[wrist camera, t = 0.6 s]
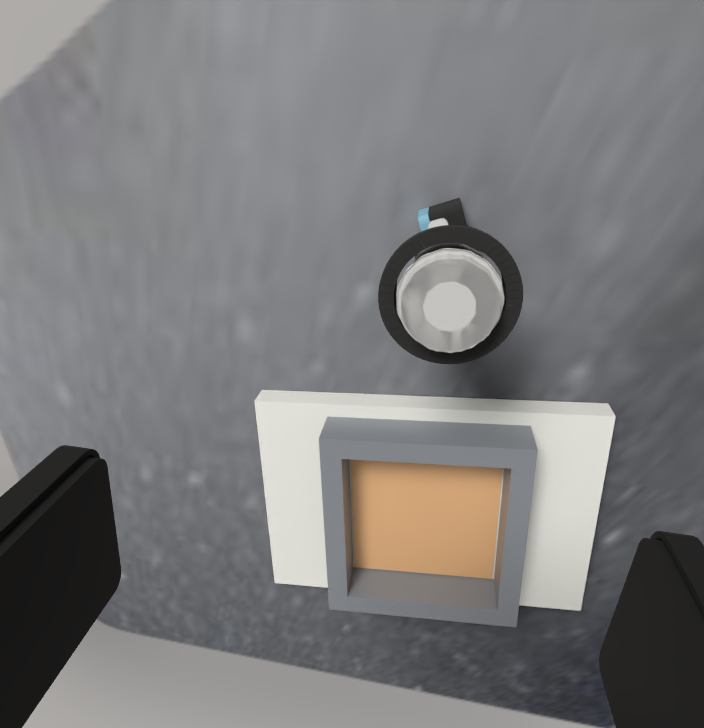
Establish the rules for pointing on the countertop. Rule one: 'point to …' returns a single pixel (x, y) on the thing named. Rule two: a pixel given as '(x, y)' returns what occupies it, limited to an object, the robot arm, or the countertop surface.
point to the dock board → (433, 500)
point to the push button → (450, 290)
